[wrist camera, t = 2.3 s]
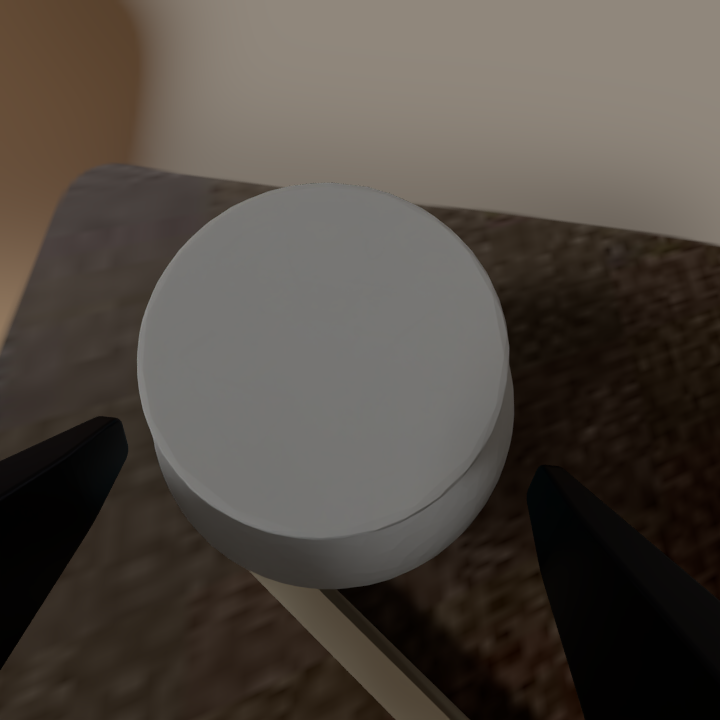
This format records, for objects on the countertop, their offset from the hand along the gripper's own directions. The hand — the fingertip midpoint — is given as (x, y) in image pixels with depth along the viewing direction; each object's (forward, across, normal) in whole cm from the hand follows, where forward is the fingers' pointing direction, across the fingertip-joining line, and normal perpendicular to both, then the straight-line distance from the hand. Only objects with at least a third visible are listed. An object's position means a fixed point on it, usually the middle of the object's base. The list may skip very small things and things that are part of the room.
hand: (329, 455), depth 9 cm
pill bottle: (+8, 0, +6) cm, 10 cm away
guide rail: (+1, -3, +12) cm, 12 cm away
